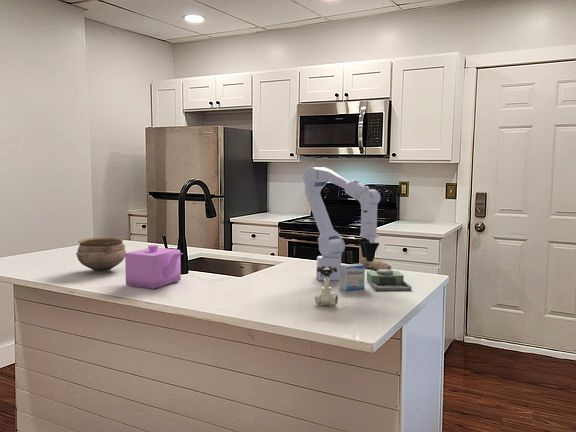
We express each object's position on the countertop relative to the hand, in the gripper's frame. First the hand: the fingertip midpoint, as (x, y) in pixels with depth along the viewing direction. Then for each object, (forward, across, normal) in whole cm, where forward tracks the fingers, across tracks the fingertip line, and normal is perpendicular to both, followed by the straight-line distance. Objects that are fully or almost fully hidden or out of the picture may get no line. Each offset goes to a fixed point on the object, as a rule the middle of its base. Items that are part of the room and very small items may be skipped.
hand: (367, 259), depth 188 cm
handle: (+8, +19, -13) cm, 25 cm away
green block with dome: (+9, +3, -7) cm, 12 cm away
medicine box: (+10, -6, +7) cm, 13 cm away
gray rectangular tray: (+9, -5, -7) cm, 13 cm away
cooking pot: (+11, +29, +104) cm, 109 cm away
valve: (+10, -27, +19) cm, 34 cm away
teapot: (+10, +6, +78) cm, 79 cm away
